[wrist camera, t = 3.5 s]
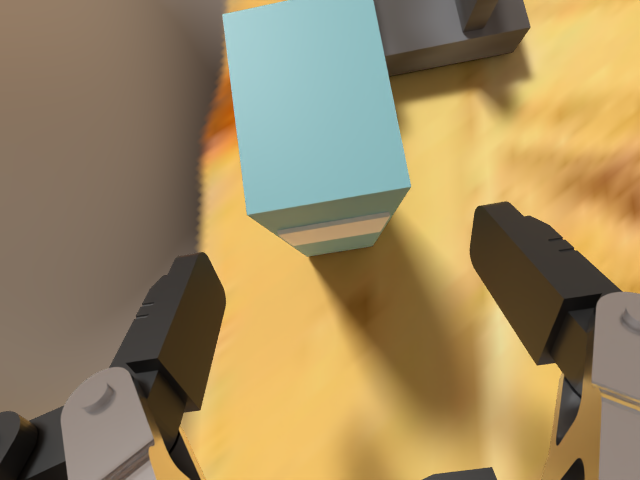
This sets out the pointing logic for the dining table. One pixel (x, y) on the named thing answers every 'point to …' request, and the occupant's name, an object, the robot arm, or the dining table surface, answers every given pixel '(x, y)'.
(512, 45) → the book stand
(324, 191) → the teal book
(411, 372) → the dining table surface
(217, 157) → the dining table surface
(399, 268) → the dining table surface
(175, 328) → the robot arm
